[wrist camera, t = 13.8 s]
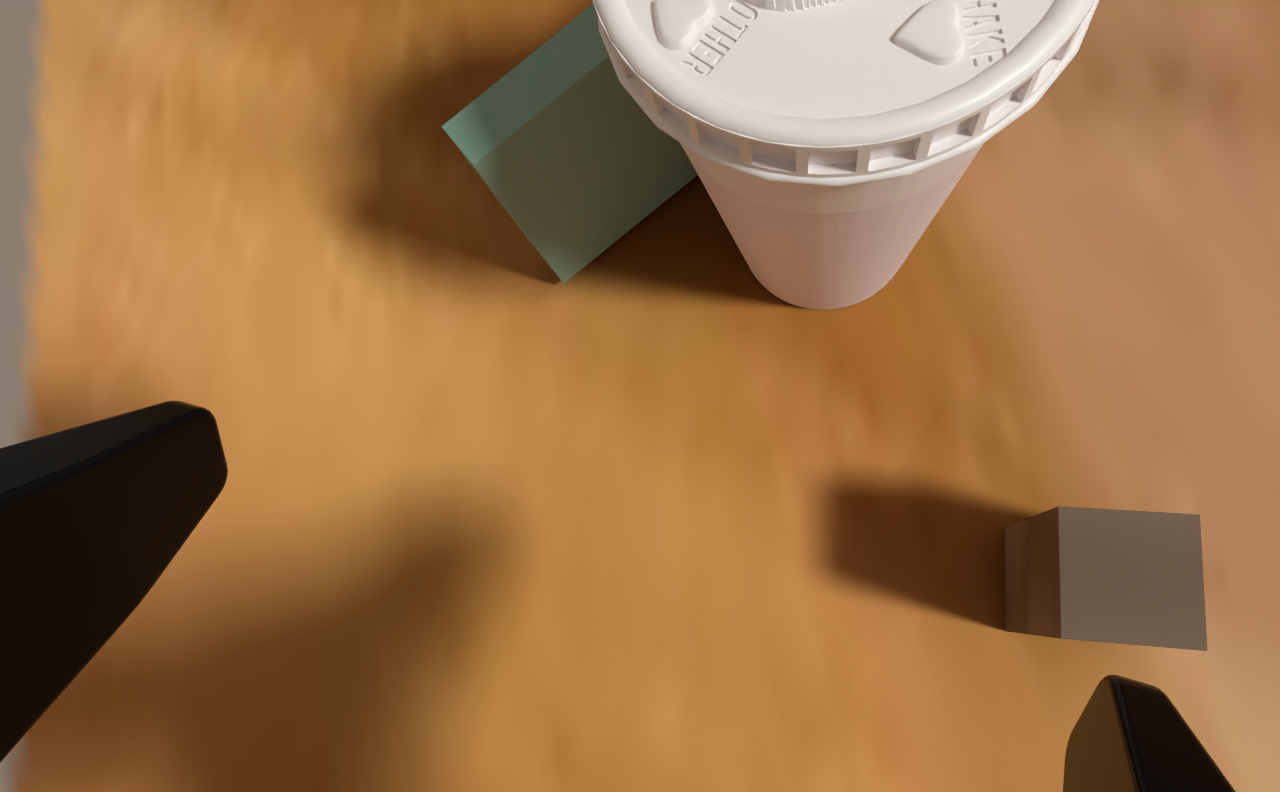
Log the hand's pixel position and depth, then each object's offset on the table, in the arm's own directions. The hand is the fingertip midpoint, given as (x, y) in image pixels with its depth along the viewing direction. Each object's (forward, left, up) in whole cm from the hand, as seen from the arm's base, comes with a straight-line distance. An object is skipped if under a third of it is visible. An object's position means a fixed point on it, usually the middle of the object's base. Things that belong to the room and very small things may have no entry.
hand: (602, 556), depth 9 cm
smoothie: (+8, -2, -10) cm, 13 cm away
